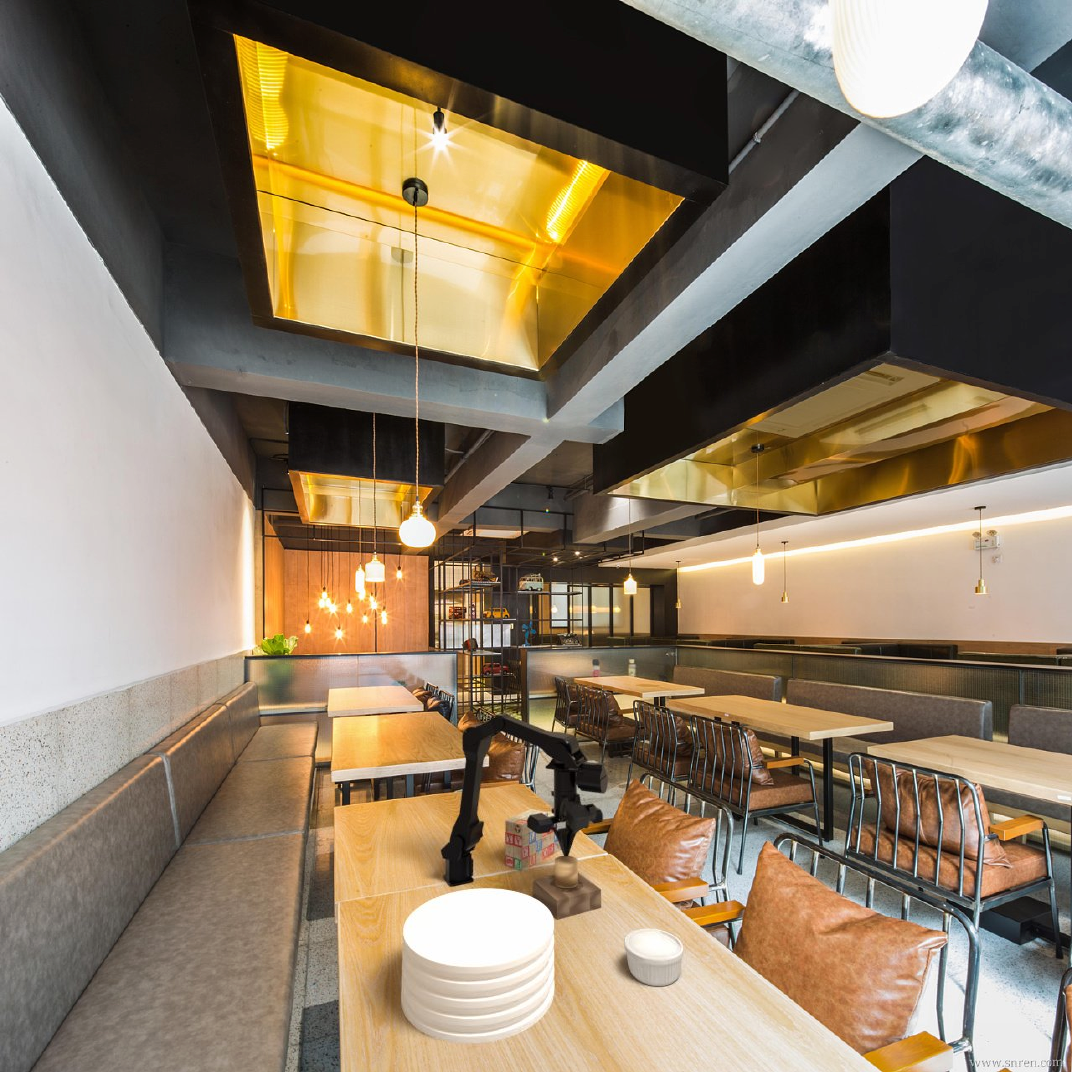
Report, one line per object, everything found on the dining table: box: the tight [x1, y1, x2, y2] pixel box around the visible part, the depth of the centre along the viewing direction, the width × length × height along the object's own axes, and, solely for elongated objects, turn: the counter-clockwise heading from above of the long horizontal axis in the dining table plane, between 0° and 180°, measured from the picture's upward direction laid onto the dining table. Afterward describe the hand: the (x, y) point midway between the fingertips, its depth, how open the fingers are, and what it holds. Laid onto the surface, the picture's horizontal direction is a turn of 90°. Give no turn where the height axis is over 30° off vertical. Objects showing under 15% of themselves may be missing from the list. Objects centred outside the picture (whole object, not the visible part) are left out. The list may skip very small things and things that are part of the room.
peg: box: [554, 855, 579, 890], centre depth 140 cm, size 6×6×9 cm
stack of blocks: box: [504, 808, 562, 872], centre depth 167 cm, size 21×6×12 cm, turn 143°
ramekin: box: [623, 928, 685, 987], centre depth 111 cm, size 11×11×5 cm
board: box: [532, 872, 602, 920], centre depth 139 cm, size 12×12×4 cm
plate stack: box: [400, 887, 555, 1045], centre depth 107 cm, size 28×28×12 cm
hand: (565, 855), depth 140 cm, fingers closed
